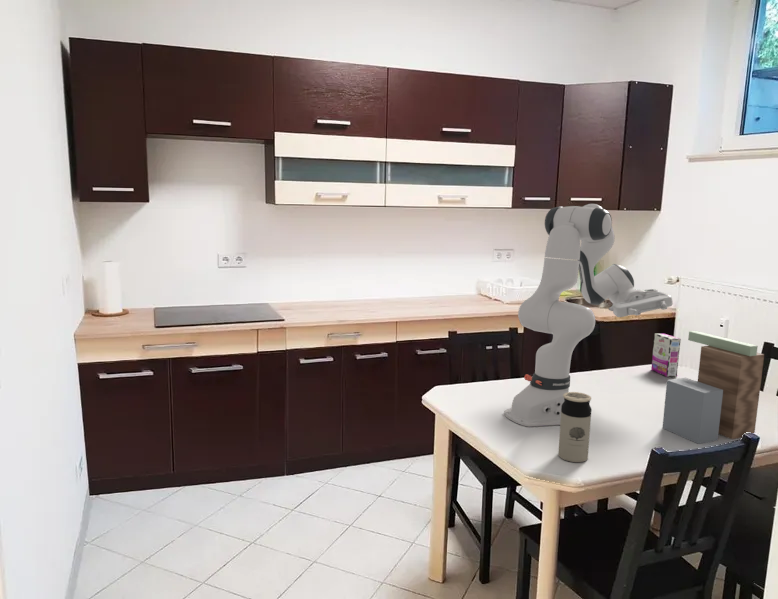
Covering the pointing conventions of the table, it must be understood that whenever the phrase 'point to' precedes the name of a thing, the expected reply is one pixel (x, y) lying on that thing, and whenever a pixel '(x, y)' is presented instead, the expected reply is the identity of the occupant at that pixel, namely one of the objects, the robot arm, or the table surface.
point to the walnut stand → (733, 387)
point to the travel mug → (575, 427)
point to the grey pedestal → (692, 410)
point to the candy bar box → (665, 355)
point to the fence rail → (723, 343)
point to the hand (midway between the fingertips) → (651, 310)
